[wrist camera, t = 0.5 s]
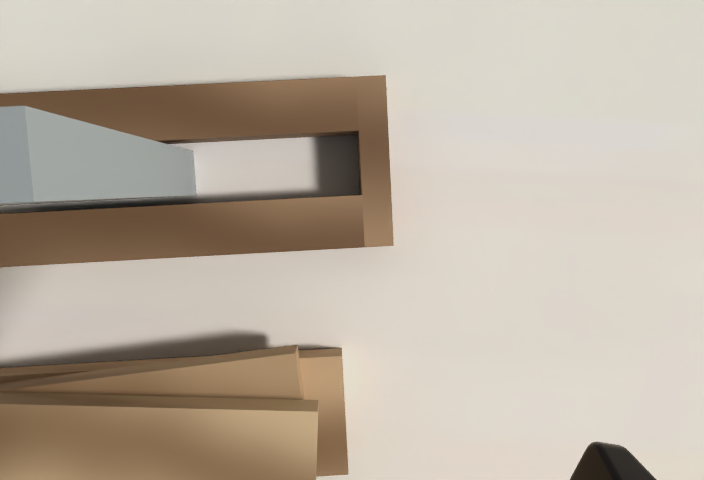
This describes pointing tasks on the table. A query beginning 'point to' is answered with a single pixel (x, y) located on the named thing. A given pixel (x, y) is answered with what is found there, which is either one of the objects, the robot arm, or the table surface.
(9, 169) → the tall grey pillar
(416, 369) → the table surface
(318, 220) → the frame
